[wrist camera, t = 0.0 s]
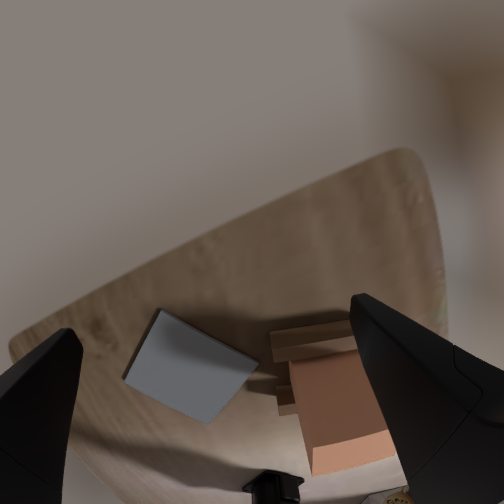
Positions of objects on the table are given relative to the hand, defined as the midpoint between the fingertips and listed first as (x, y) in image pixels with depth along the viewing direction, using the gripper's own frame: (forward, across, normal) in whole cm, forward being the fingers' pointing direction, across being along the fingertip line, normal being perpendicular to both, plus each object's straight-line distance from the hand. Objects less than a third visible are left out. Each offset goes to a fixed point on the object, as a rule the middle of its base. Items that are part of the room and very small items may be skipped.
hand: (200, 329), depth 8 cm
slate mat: (+12, +6, +16) cm, 21 cm away
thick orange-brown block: (+12, -7, +16) cm, 21 cm away
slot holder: (+12, -7, +16) cm, 21 cm away
